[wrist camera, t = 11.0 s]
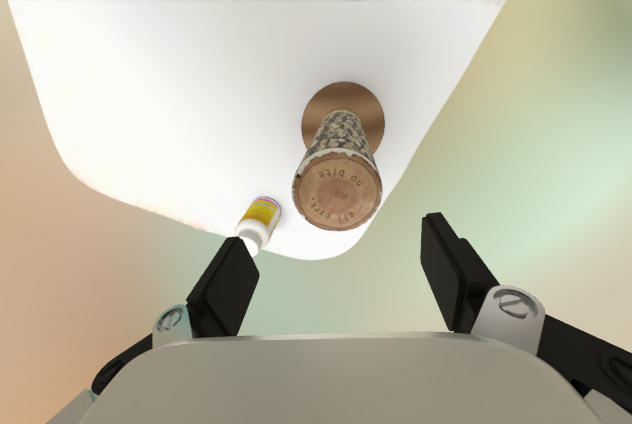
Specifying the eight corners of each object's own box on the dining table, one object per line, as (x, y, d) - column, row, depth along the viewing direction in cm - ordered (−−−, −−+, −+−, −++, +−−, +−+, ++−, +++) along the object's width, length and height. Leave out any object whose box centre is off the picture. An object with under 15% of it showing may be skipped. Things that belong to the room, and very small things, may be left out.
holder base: (293, 93, 37) (262, 105, 23) (380, 72, 34) (406, 71, 20) (312, 172, 44) (297, 218, 30) (385, 160, 41) (407, 205, 27)
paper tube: (349, 155, 40) (353, 243, 19) (314, 138, 39) (279, 210, 18) (369, 118, 37) (402, 176, 16) (332, 99, 36) (312, 132, 15)
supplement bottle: (248, 197, 49) (220, 233, 38) (277, 194, 48) (257, 230, 37) (256, 222, 52) (234, 262, 41) (284, 220, 51) (268, 260, 40)
